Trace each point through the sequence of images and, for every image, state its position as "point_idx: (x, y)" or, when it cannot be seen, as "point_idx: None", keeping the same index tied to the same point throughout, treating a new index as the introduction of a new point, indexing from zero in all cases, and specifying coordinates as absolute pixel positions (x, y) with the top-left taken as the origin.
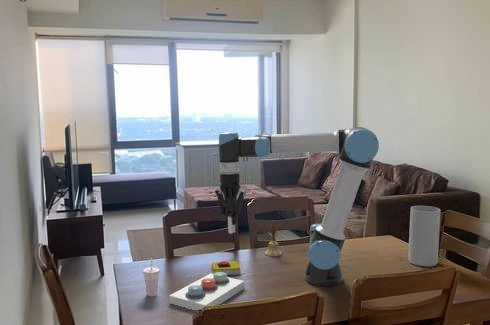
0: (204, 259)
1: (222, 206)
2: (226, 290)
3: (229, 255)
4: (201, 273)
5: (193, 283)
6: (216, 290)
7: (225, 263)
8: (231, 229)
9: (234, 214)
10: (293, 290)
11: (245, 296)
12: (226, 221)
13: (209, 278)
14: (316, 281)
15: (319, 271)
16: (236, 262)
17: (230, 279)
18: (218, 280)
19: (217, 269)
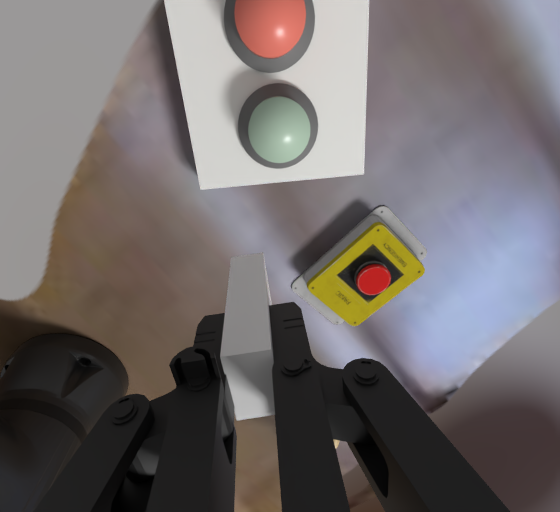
0: (484, 307)
1: (406, 477)
2: (184, 51)
3: (424, 371)
4: (426, 202)
5: (361, 23)
6: (219, 20)
7: (363, 276)
8: (229, 274)
9: (178, 408)
10: (69, 264)
11: (148, 120)
12: (299, 317)
13: (286, 50)
14: (43, 341)
15: (21, 372)
16: (346, 318)
17: (254, 169)
18: (265, 99)
19: (369, 231)
